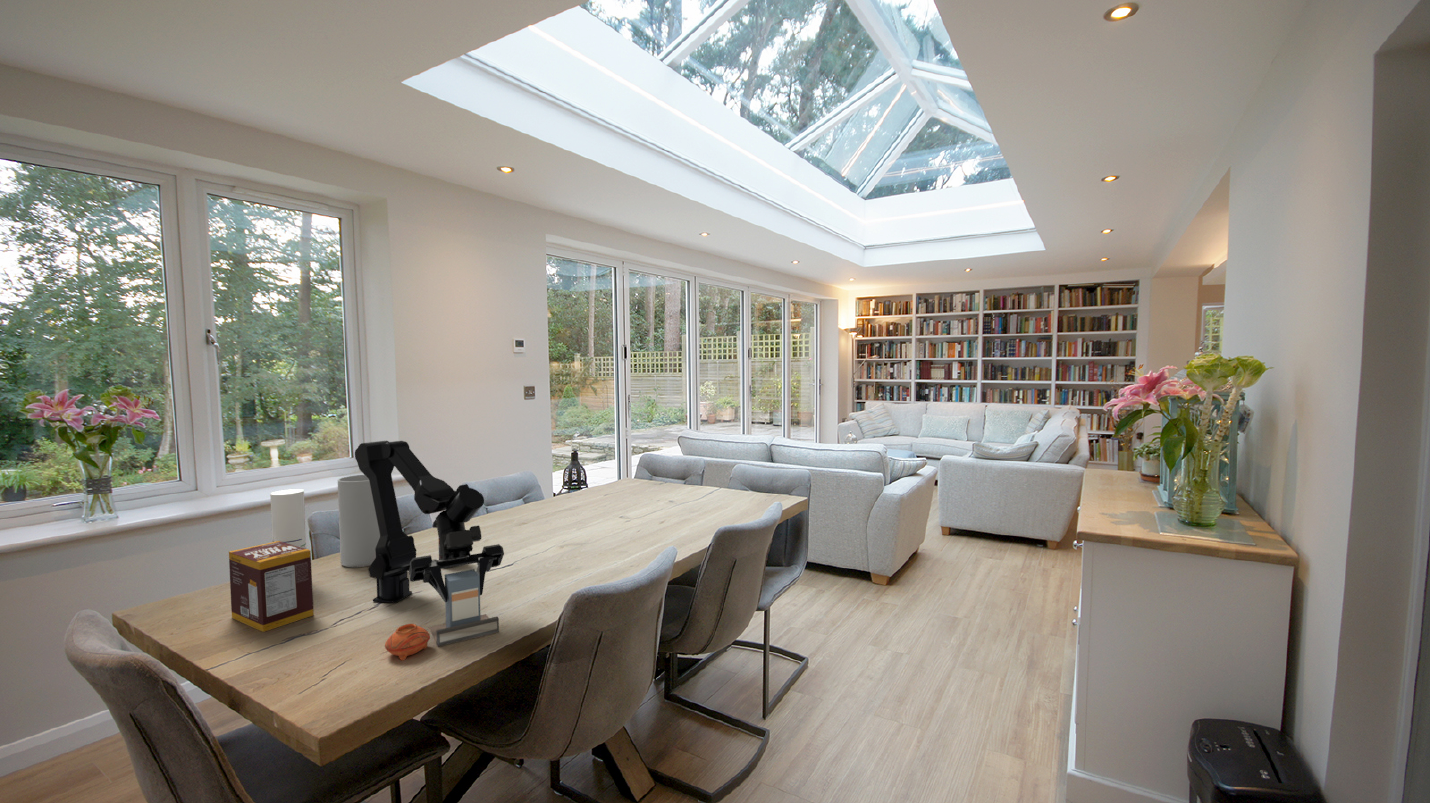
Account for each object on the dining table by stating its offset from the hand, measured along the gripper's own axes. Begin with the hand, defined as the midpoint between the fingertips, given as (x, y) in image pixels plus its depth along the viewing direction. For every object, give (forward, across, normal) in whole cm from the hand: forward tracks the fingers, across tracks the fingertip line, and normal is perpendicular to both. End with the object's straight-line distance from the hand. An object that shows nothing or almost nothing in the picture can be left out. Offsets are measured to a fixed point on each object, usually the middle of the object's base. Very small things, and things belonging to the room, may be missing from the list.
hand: (464, 597), depth 127 cm
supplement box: (-19, -34, +32) cm, 51 cm away
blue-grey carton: (+4, 0, +6) cm, 8 cm away
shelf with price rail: (+5, 0, +7) cm, 9 cm away
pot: (+8, -11, +4) cm, 15 cm away
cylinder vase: (-43, -13, +56) cm, 72 cm away
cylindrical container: (-34, -31, +47) cm, 66 cm away
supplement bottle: (-30, +7, +43) cm, 53 cm away
